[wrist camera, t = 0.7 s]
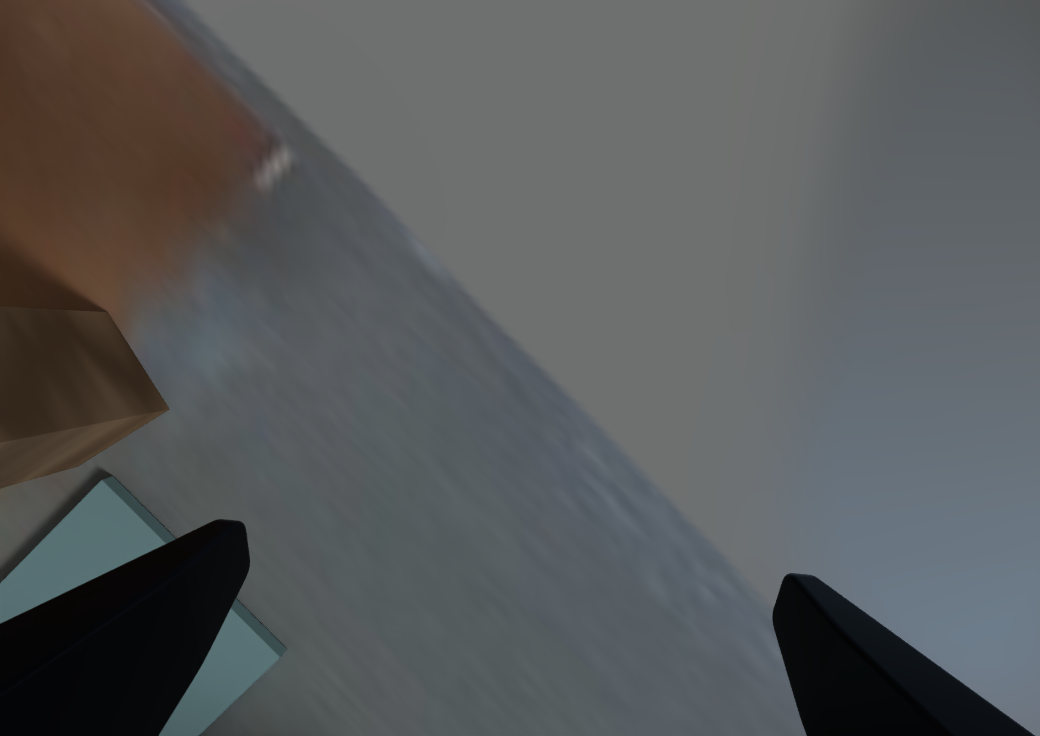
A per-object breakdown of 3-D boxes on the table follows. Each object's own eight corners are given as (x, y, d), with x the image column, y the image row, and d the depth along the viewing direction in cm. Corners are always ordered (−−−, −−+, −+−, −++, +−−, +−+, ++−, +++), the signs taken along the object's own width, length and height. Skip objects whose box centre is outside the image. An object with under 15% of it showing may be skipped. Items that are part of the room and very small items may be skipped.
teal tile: (287, 649, 24) (280, 657, 23) (123, 805, 24) (113, 817, 24) (112, 476, 23) (101, 479, 23) (-48, 639, 24) (-63, 646, 23)
